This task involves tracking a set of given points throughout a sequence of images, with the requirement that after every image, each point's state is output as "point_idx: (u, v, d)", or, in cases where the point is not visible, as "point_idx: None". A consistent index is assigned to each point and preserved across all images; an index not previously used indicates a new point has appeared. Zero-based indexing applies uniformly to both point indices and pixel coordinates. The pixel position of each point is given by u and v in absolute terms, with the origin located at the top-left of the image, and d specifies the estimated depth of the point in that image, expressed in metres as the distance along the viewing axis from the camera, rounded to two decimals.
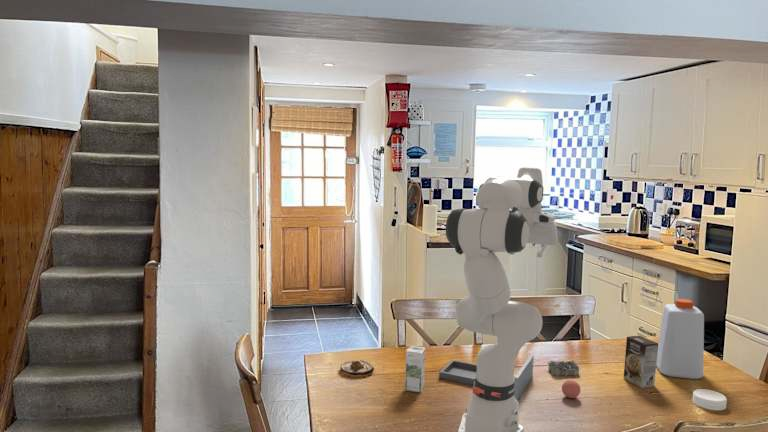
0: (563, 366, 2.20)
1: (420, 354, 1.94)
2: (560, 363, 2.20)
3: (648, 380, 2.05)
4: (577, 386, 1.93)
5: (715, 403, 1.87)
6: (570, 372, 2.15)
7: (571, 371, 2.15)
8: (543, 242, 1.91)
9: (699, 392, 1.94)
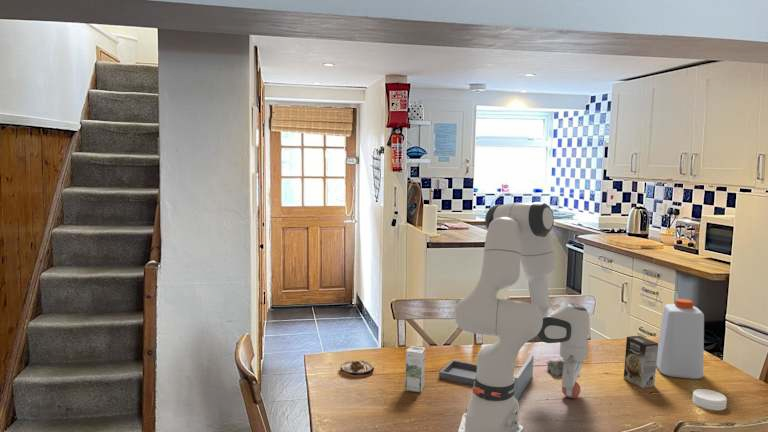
0: (561, 365, 2.20)
1: (420, 354, 1.94)
2: (558, 363, 2.21)
3: (648, 380, 2.05)
4: (577, 386, 1.93)
5: (715, 403, 1.87)
6: None
7: None
8: None
9: (699, 392, 1.94)
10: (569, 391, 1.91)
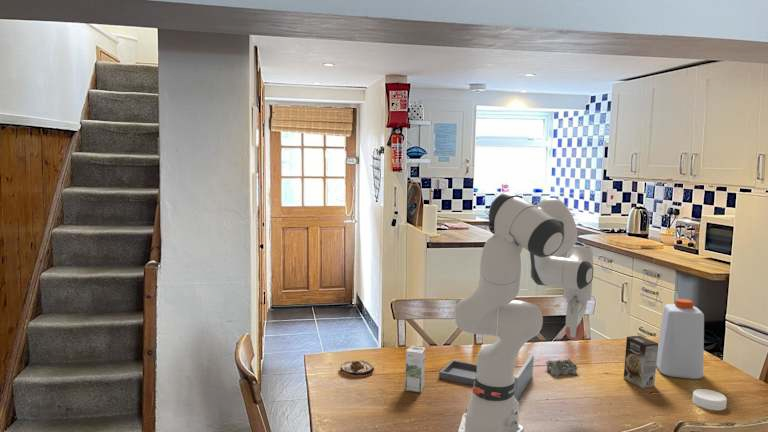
0: (560, 365, 2.21)
1: (420, 354, 1.94)
2: (557, 362, 2.21)
3: (648, 380, 2.05)
4: (581, 328, 1.90)
5: (715, 403, 1.87)
6: (569, 371, 2.16)
7: (570, 370, 2.16)
8: (583, 314, 1.96)
9: (699, 392, 1.94)
10: (573, 332, 1.88)
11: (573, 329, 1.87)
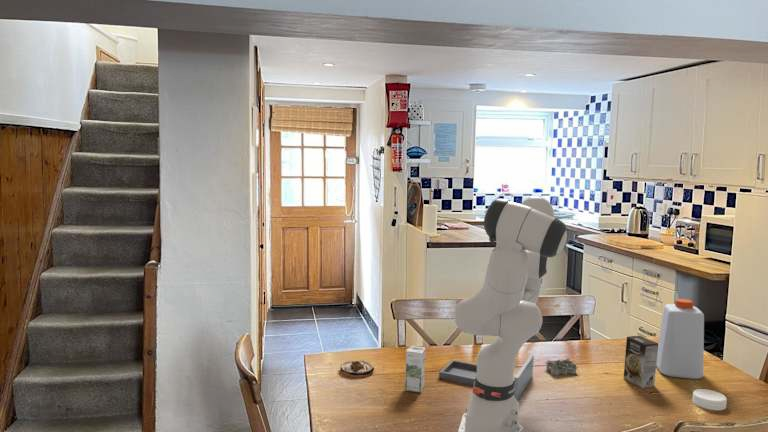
0: (559, 365, 2.21)
1: (420, 354, 1.94)
2: (556, 362, 2.21)
3: (648, 380, 2.05)
4: None
5: (715, 403, 1.87)
6: (568, 371, 2.16)
7: (569, 369, 2.16)
8: (535, 302, 2.03)
9: (699, 392, 1.94)
10: None
11: None
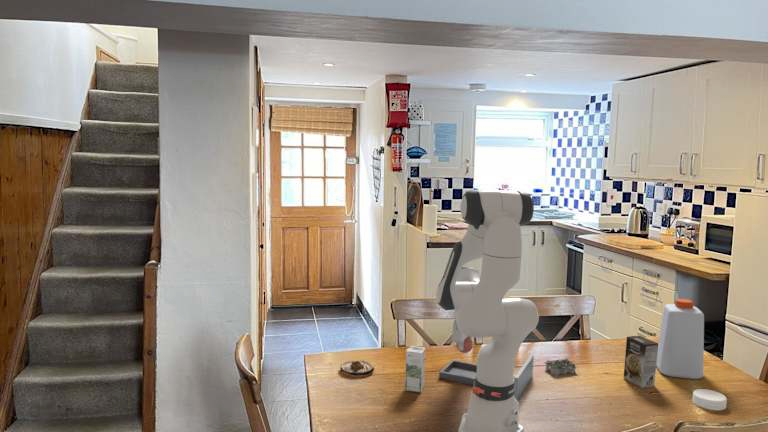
0: (558, 365, 2.21)
1: (420, 354, 1.94)
2: (555, 362, 2.21)
3: (648, 380, 2.05)
4: (469, 341, 2.09)
5: (715, 403, 1.87)
6: (568, 370, 2.17)
7: (569, 369, 2.17)
8: None
9: (699, 392, 1.94)
10: (461, 346, 2.07)
11: (460, 343, 2.06)
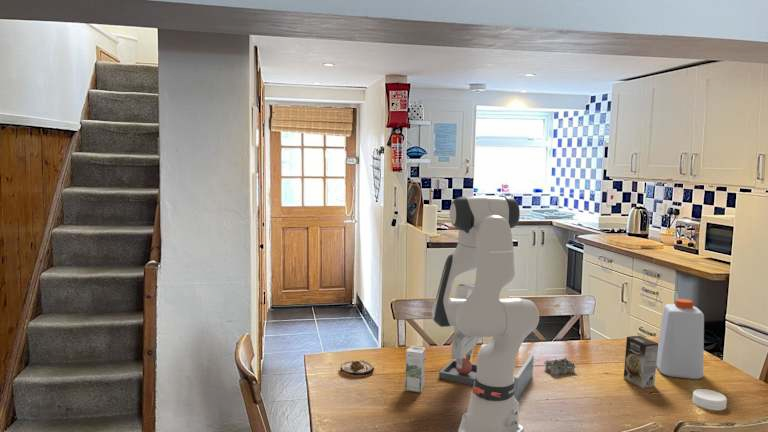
0: (557, 364, 2.21)
1: (420, 354, 1.94)
2: (554, 362, 2.22)
3: (648, 380, 2.05)
4: (468, 364, 2.09)
5: (714, 403, 1.87)
6: (567, 370, 2.17)
7: (568, 369, 2.17)
8: (474, 345, 2.15)
9: (699, 392, 1.94)
10: (459, 364, 2.06)
11: (459, 361, 2.05)
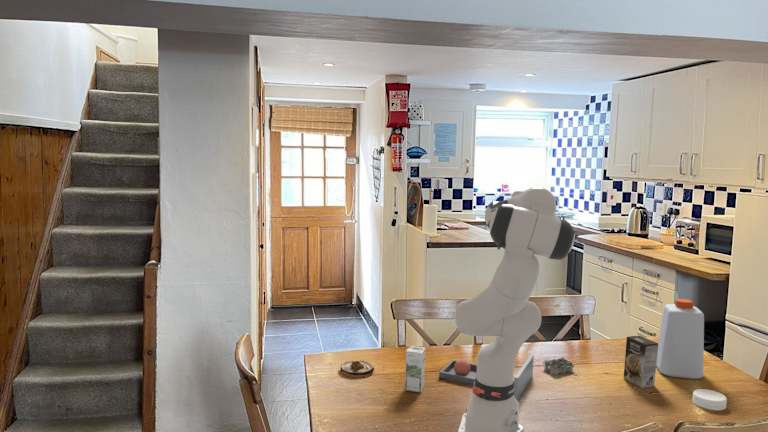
0: (555, 364, 2.22)
1: (420, 354, 1.94)
2: (552, 361, 2.22)
3: (648, 380, 2.05)
4: (466, 368, 2.07)
5: (714, 403, 1.88)
6: (566, 369, 2.18)
7: (567, 368, 2.18)
8: None
9: (699, 392, 1.94)
10: None
11: None
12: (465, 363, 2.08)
